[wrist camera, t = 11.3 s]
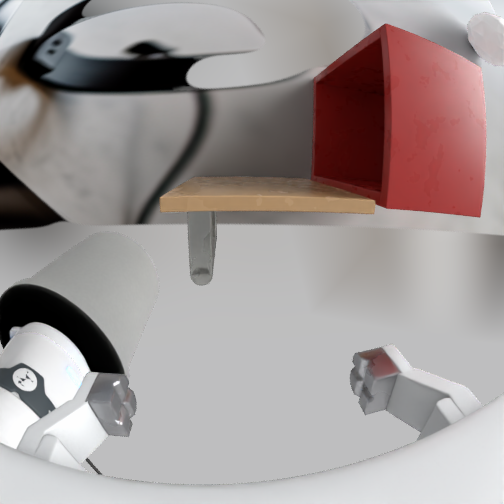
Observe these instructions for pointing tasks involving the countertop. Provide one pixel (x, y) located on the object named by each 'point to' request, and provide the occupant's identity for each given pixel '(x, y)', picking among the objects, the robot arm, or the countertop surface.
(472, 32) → the decorative ball
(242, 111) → the countertop surface
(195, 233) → the door
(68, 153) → the countertop surface
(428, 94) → the cabinet
